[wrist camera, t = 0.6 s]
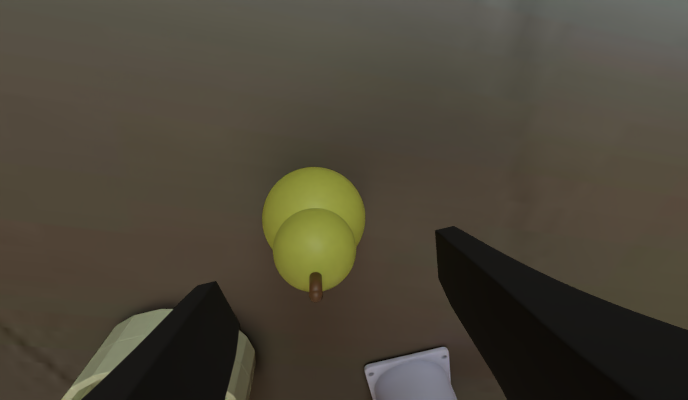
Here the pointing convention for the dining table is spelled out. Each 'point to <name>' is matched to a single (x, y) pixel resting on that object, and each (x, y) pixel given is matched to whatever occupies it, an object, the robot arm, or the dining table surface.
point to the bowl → (133, 334)
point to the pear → (313, 228)
